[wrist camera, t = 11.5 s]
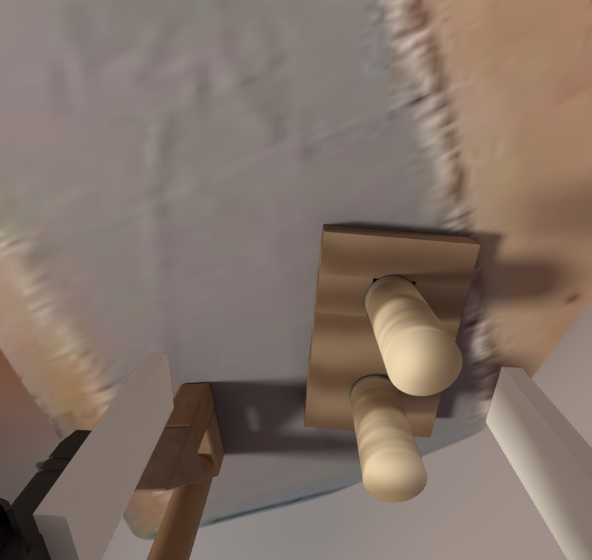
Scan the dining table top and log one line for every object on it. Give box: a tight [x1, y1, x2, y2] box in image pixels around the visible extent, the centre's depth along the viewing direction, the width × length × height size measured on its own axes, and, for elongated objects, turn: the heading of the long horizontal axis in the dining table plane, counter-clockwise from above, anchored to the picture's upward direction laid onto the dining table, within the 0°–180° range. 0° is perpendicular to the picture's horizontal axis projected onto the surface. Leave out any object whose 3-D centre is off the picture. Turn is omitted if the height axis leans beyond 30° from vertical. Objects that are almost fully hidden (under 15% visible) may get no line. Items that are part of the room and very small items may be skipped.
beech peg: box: [364, 275, 463, 396], centre depth 31 cm, size 5×5×14 cm
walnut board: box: [304, 225, 480, 503], centre depth 34 cm, size 22×14×14 cm, turn 176°
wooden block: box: [134, 383, 224, 560], centre depth 37 cm, size 4×11×18 cm, turn 5°
